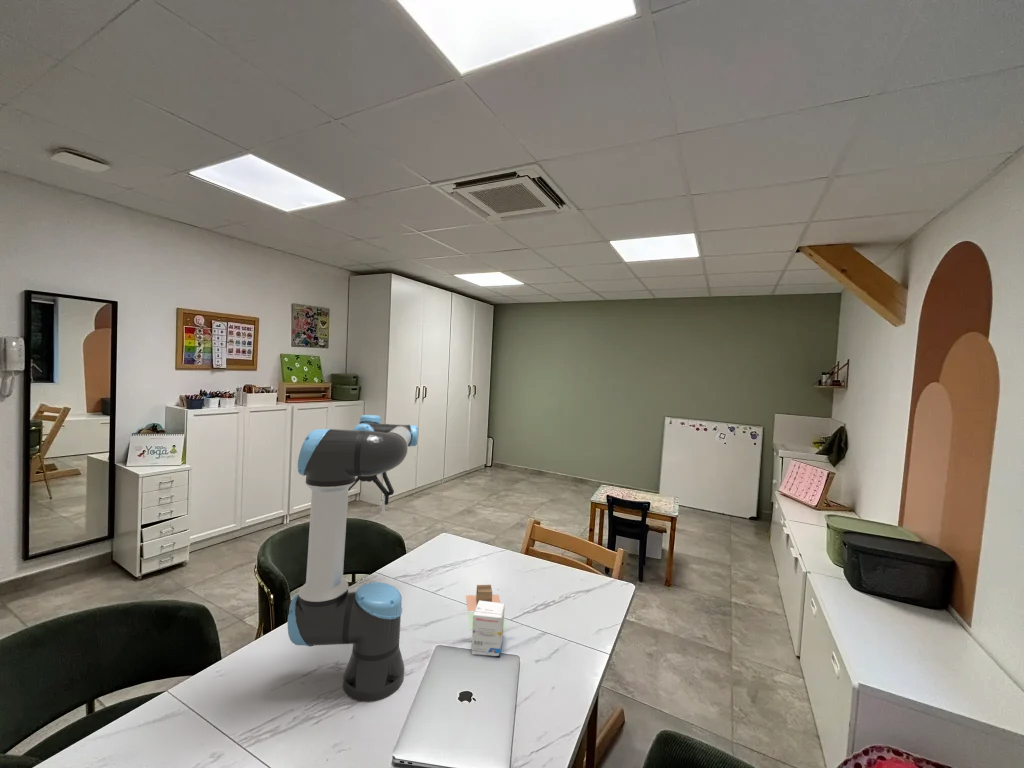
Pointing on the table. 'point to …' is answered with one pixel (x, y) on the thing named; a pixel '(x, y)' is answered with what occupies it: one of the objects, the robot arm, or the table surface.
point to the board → (472, 606)
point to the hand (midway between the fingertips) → (364, 513)
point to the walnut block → (484, 593)
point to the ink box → (488, 626)
